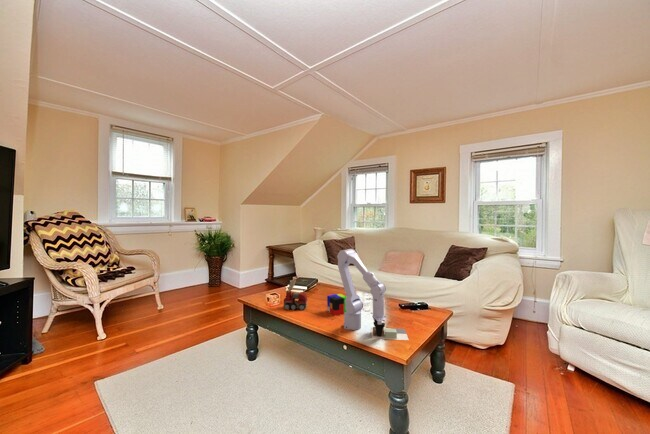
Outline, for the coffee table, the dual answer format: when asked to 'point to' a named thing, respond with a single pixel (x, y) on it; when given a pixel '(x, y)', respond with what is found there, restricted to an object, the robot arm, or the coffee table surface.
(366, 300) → the coffee table surface
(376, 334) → the walnut brick
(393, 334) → the sage brick
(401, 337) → the board
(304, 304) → the toy fire truck
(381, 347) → the coffee table surface
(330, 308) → the puzzle toy
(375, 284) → the robot arm
